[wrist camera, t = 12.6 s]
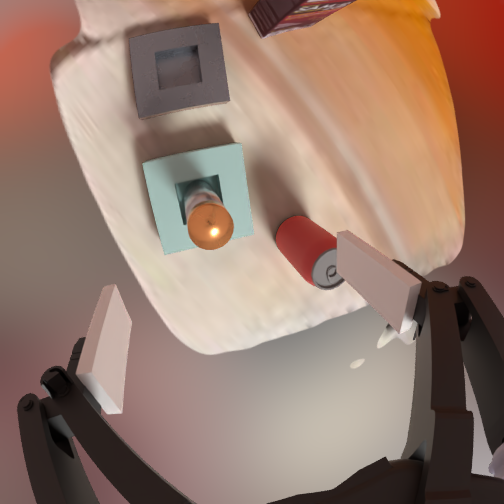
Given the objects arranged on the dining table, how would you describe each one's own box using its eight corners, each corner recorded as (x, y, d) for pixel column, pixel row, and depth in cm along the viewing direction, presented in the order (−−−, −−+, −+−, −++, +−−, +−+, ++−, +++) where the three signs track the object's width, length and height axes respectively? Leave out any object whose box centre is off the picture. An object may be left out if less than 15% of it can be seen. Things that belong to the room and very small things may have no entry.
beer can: (275, 258, 44) (308, 300, 33) (272, 218, 41) (307, 250, 30) (314, 250, 45) (354, 286, 34) (313, 211, 42) (357, 239, 32)
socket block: (145, 161, 33) (142, 163, 30) (235, 142, 35) (241, 143, 32) (165, 245, 38) (164, 255, 35) (247, 226, 41) (254, 234, 37)
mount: (132, 45, 26) (128, 38, 24) (215, 30, 28) (218, 23, 25) (141, 119, 31) (138, 118, 28) (225, 103, 33) (229, 100, 30)
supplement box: (261, 40, 30) (312, -5, 16) (246, 14, 28) (289, -41, 14) (312, 27, 30) (378, -9, 16) (299, 2, 28) (357, -42, 14)
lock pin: (181, 183, 35) (183, 211, 23) (210, 177, 36) (230, 201, 24) (186, 212, 37) (193, 254, 25) (215, 206, 38) (237, 244, 25)
